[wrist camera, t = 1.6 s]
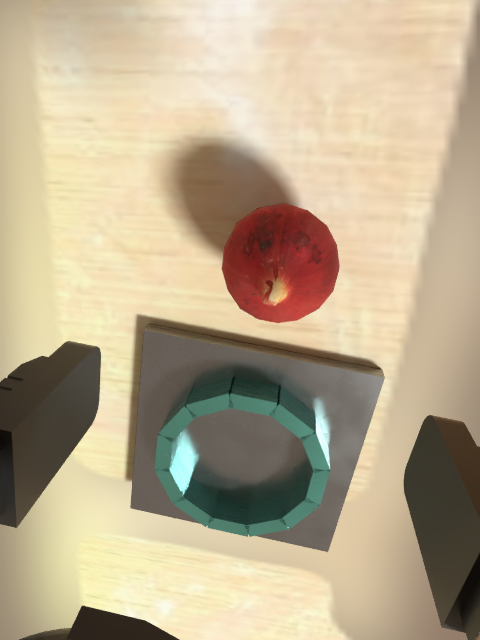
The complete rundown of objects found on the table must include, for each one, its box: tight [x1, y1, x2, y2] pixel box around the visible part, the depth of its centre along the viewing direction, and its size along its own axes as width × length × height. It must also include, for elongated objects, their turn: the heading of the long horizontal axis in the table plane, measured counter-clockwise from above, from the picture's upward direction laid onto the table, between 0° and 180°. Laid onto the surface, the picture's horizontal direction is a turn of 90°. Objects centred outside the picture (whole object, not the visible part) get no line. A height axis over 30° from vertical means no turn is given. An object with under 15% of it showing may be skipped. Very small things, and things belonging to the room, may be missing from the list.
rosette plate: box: [131, 324, 385, 552], centre depth 31 cm, size 15×15×3 cm
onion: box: [222, 203, 339, 323], centre depth 23 cm, size 6×6×8 cm
